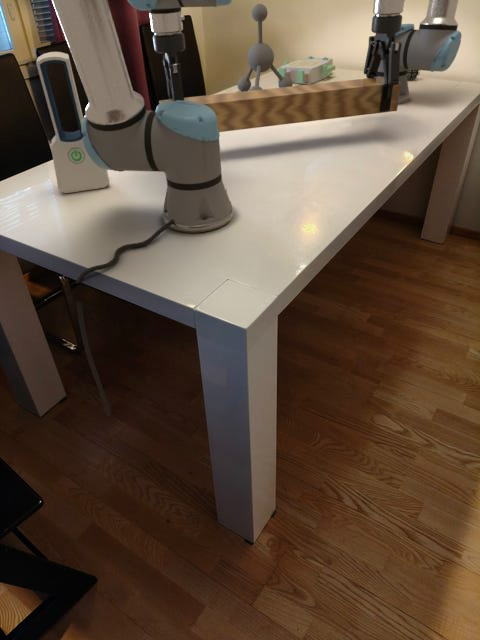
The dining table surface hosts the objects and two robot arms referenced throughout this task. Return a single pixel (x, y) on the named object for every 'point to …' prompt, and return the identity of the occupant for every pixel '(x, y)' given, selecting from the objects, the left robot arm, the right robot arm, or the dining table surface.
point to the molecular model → (261, 57)
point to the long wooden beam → (297, 103)
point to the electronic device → (69, 136)
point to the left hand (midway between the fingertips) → (179, 129)
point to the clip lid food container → (307, 70)
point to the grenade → (412, 74)
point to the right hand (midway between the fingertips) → (377, 106)
